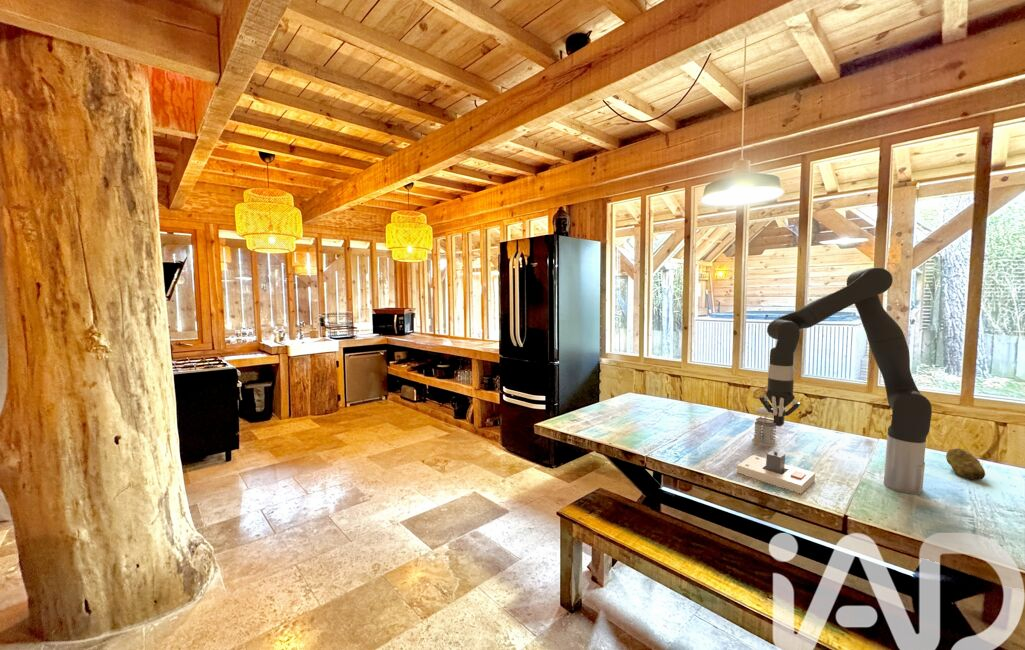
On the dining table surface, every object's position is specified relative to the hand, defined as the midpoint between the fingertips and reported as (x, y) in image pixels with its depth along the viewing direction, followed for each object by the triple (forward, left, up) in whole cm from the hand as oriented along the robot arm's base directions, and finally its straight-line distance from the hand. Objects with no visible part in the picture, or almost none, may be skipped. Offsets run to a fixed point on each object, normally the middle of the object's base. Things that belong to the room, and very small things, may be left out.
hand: (778, 425), depth 144 cm
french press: (+15, -32, -19) cm, 40 cm away
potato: (-42, -54, -19) cm, 71 cm away
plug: (0, 0, -18) cm, 18 cm away
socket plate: (0, 0, -19) cm, 19 cm away
